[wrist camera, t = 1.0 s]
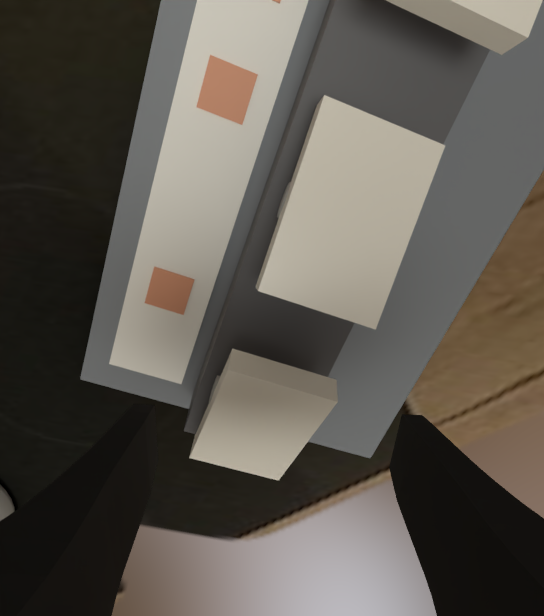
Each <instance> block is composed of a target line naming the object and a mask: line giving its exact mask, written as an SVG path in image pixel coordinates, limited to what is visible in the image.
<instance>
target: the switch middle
mask: <svg viewBox="0 0 544 616" xmlns="http://www.w3.org/2000/svg"><path fill="white" fill-rule="evenodd" d="M444 148H445V145H443V144H441V143H438V142H436V141H433V140H431V139H429V138H426V137H424V136H422V135H419V134H417V133H414V132H412V131H410V130H407V129H405V128H402V127H400V126H398V125H395V124H393V123H390V122H388V121H386V120H383V119H381V118H378V117H376V116H374V115H371V114H369V113H366V112H364V111H362V110H359V109H357V108H355V107H352V106H350V105H347V104H345V103H343V102H340V101H338V100H335V99H333V98H331V97H328V96H326V95H324V96H323V98H322V99H321V100H320V102H319V103H318V104H317V106H316V109H315V112H314V115H313V118H312V121H311V124H310V127H309V130H308V133H307V136H306V139H305V142H304V145H303V148H302V151H301V154H300V157H299V160H298V163H297V165H296V168H295V171H294V174H293V177H292V180H291V182H289V183H288V185H287V187H286V189H285V192H284V194H283V197H282V200H281V203H280V206H279V209H278V214H277V217H278V218H279V219H278V222H277V225H276V228H275V231H274V234H273V236H272V239H271V242H270V245H269V248H268V251H267V254H266V257H265V260H264V263H263V266H262V269H261V272H260V275H259V278H258V281H257V284H256V289H257V290H258V291H260V292H263V293H266V294H269V295H272V296H275V297H278V298H281V299H284V300H287V301H290V302H293V303H296V304H299V305H302V306H305V307H308V308H311V309H314V310H317V311H321V312H324V313H327V314H330V315H333V316H336V317H339V318H342V319H345V320H348V321H351V322H354V323H357V324H360V325H363V326H366V327H369V328H372V329H375V330H376V327H377V325H378V322H379V319H380V317H381V314H382V312H383V309H384V306H385V304H386V301H387V298H388V296H389V293H390V290H391V288H392V285H393V282H394V280H395V277H396V275H397V272H398V269H399V267H400V264H401V261H402V259H403V256H404V253H405V251H406V248H407V246H408V243H409V240H410V238H411V235H412V232H413V230H414V227H415V224H416V222H417V219H418V216H419V214H420V211H421V209H422V206H423V203H424V201H425V198H426V195H427V193H428V190H429V187H430V185H431V182H432V180H433V177H434V174H435V172H436V169H437V166H438V164H439V161H440V158H441V156H442V153H443V150H444Z"/></svg>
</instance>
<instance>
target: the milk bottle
mask: <svg viewBox="0 0 544 616" xmlns="http://www.w3.org/2000/svg"><path fill="white" fill-rule="evenodd" d="M14 511H15V508H14V505H13V502H12V499H11V497H10V496H9V495H8V493H7V491H6V490H5V489H4V488H3V487H2V486H1V485H0V521H1V520H2V519H4V518H5V517H7V516H8V515H10V514H11V513H13V512H14Z"/></svg>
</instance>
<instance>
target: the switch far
mask: <svg viewBox="0 0 544 616" xmlns="http://www.w3.org/2000/svg"><path fill="white" fill-rule="evenodd" d="M337 402H338V395H337V380H336V379H332V378H329V377H326V376H322V375H319V374H316V373H312V372H309V371H306V370H302V369H299V368H296V367H292V366H289V365H286V364H282V363H279V362H276V361H273V360H269V359H266V358H263V357H259V356H256V355H253V354H249V353H246V352H243V351H239V350H236V349H233V348H232V351H231V353H230V355H229V358H228V360H227V362H226V365H225V367H224V369H223V372H222V374H221V376H218V375H217V377H216V379H215V382H214V384H213V388H212V391H211V394H210V398H209V404H208V407H207V409H206V411H205V414H204V416H203V418H202V421H201V423H200V425H199V428H198V430H197V432H196V435H195V437H194V441H193V445H192V449H191V453H190V457H189V458H192V459H196V460H200V461H204V462H208V463H211V464H215V465H219V466H223V467H227V468H231V469H235V470H239V471H243V472H247V473H251V474H255V475H259V476H263V477H267V478H271V479H275V480H279V479H280V478H281V476H282V475H283V474H284V472H285V471H286V470H287V468H288V467H289V466H290V465H291V463H292V462H293V461H294V459H295V458H296V457H297V455H298V454H299V453H300V451H301V450H302V449H303V447H304V446H305V445H306V443H307V442H308V441H309V439H310V438H311V437H312V435H313V434H314V433H315V431H316V430H317V429H318V428H319V426H320V425H321V424H322V422H323V421H324V420H325V418H326V417H327V416H328V414H329V413H330V412H331V410H332V409H333V408H334V406H335V405H336V404H337Z"/></svg>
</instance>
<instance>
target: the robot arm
mask: <svg viewBox="0 0 544 616" xmlns="http://www.w3.org/2000/svg"><path fill="white" fill-rule="evenodd" d="M157 462H158V451H157V435H156V418H155V405H143V404H133V405H132V406H130V407H129V408H128V409H127V410H126V411H125V413H124V414H123V415H122V416H121V417H120V418H119V419H118V420H117V421H116V422H115V423H114V424H113V425H112V426H111V427H110V428H109V429H108V430H107V432H106V433H105V434H104V435H103V436H102V437H101V438H100V439H99V440H98V441H97V442H96V443H95V444H94V445H92V446H91V447H90V448H89V449H88V450H87V451H86V452H85V453H84V454H83V455H82V456H81V457H80V458H79V459H78V460H77V461H76V462H75V463H73V464H72V465H71V466H70V467H69V468H68V469H67V470H66V471H64V472H63V473H62V474H61V475H60V476H59V477H58V478H57V479H55V480H54V481H53V482H52V483H51V484H49V485H48V486H47V487H46V488H45V489H43V490H42V491H41V492H40V493H38V494H37V495H36V496H34V497H33V498H32V499H30V500H29V501H28V502H27V503H25V504H24V505H23V506H21V507H20V508H19V509H17V510H16V511H14V512H13V513H11V514H10V515H8V516H7V517H5V518H4V519H2V520H1V521H0V616H111V615H112V611H113V607H114V603H115V599H116V595H117V591H118V588H119V585H120V581H121V578H122V575H123V572H124V569H125V566H126V563H127V560H128V557H129V554H130V552H131V549H132V546H133V543H134V540H135V537H136V534H137V531H138V529H139V526H140V523H141V520H142V517H143V514H144V511H145V508H146V505H147V502H148V500H149V497H150V494H151V489H152V485H153V480H154V476H155V471H156V467H157ZM389 468H390V472H391V477H392V481H393V486H394V490H395V493H396V498H397V502H398V504H399V507H400V510H401V513H402V515H403V518H404V521H405V524H406V526H407V529H408V532H409V534H410V537H411V540H412V542H413V545H414V547H415V550H416V553H417V556H418V558H419V561H420V564H421V567H422V569H423V572H424V574H425V577H426V580H427V583H428V586H429V589H430V592H431V595H432V598H433V602H434V606H435V610H436V613H437V616H544V519H543V518H542V517H541V516H539V515H538V514H537V513H535V512H534V511H532V510H531V509H530V508H528V507H527V506H526V505H524V504H523V503H522V502H520V501H519V500H518V499H516V498H515V497H514V496H513V495H511V494H510V493H509V492H508V491H506V490H505V489H504V488H503V487H502V486H500V485H499V484H498V483H497V482H495V481H494V480H493V479H492V478H491V477H489V476H488V475H487V474H486V473H485V472H484V471H483V470H481V469H480V468H479V467H478V466H477V465H476V464H475V463H473V462H472V461H471V460H470V459H469V458H468V457H467V456H466V455H465V454H464V453H462V452H461V451H460V450H459V449H458V448H457V447H456V446H455V445H454V444H453V443H452V442H451V441H450V440H449V439H447V438H446V437H445V436H444V435H443V434H442V433H441V432H440V431H439V430H438V429H437V428H436V427H435V426H434V425H433V424H432V423H430V422H429V421H428V420H427V419H426V418H425V417H424V416H422V415H402V417H401V421H400V425H399V429H398V433H397V437H396V442H395V446H394V450H393V454H392V458H391V462H390V467H389Z"/></svg>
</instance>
